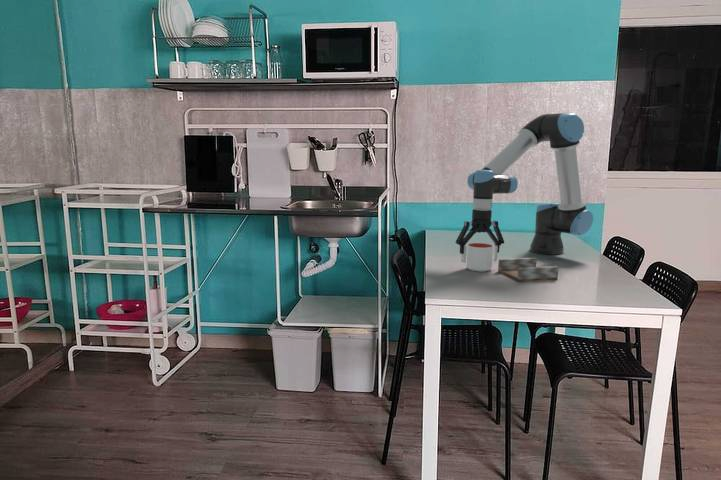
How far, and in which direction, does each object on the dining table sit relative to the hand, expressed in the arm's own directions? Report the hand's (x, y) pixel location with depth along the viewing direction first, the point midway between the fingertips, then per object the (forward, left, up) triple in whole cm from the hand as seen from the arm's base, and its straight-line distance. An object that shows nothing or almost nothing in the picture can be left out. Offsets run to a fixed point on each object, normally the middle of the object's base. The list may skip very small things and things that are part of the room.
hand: (478, 261), depth 217 cm
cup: (0, 0, -4) cm, 4 cm away
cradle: (-14, +13, -3) cm, 19 cm away
